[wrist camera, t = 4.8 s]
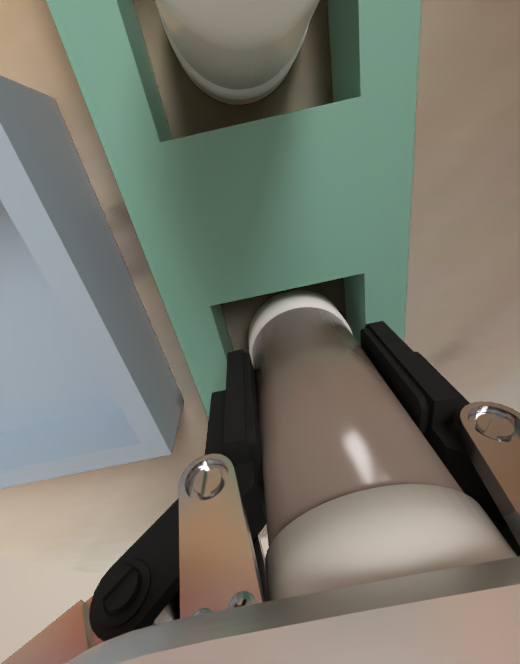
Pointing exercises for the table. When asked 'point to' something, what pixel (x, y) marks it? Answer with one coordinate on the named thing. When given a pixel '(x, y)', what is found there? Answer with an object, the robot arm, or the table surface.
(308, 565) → the fuse
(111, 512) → the table surface
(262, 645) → the robot arm
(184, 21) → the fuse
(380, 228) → the block
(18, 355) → the parts tray
